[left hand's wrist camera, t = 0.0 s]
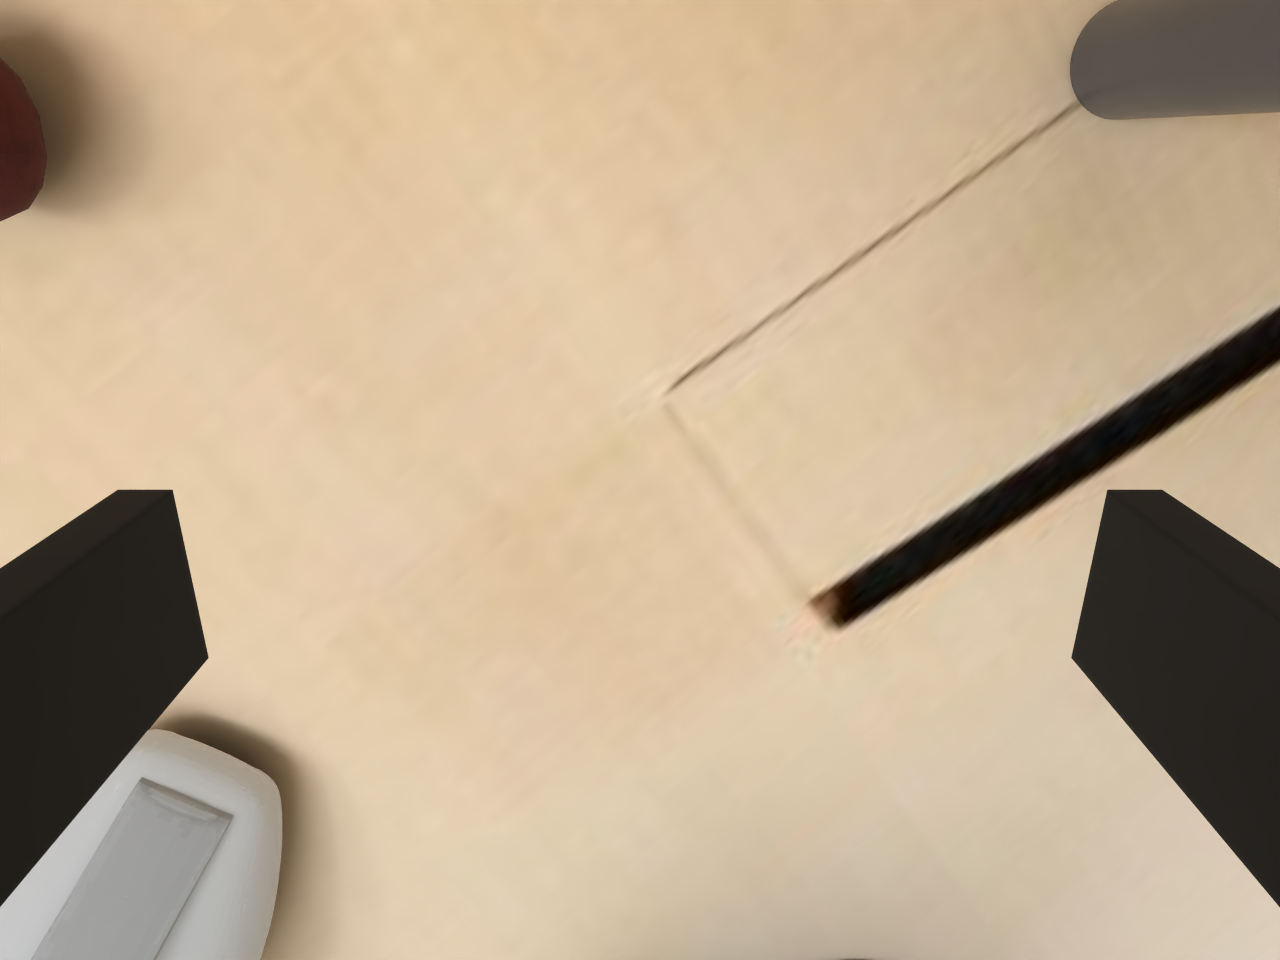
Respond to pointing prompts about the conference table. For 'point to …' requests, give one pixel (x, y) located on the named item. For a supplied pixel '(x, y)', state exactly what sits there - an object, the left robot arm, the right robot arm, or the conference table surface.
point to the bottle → (1179, 59)
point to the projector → (157, 864)
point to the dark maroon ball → (18, 146)
